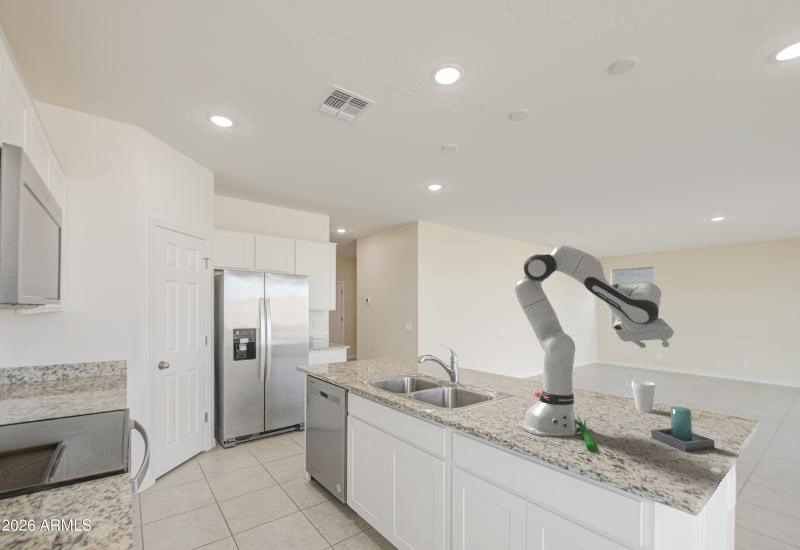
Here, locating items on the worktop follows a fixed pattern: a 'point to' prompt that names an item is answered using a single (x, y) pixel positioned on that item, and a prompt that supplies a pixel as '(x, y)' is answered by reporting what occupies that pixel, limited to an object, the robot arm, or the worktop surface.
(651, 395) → the foam cup
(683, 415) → the teal cylinder
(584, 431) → the green onion
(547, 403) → the robot arm
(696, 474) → the worktop surface
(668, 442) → the tray
